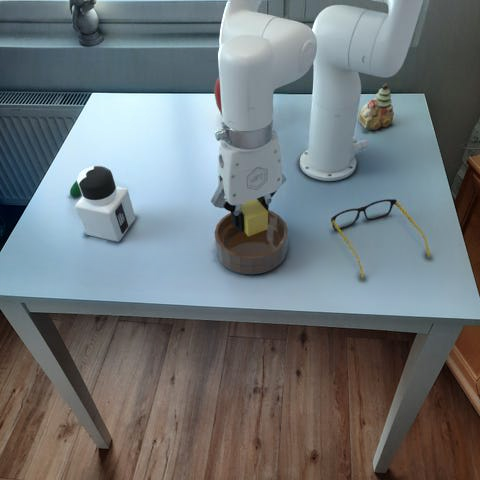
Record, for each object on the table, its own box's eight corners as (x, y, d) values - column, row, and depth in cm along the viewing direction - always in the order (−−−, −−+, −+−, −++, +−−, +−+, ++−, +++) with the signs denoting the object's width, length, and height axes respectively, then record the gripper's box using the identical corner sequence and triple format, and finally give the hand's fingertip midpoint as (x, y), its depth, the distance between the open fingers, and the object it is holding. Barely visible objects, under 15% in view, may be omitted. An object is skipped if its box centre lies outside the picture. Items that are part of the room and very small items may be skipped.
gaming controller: (112, 208, 104) (118, 181, 103) (102, 205, 100) (108, 177, 99) (78, 198, 106) (84, 171, 105) (67, 195, 103) (73, 167, 102)
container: (136, 218, 99) (121, 164, 88) (119, 243, 94) (101, 189, 84) (104, 211, 101) (85, 158, 90) (85, 235, 96) (64, 182, 86)
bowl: (265, 218, 97) (265, 199, 93) (300, 259, 90) (301, 240, 86) (205, 241, 94) (203, 222, 90) (236, 286, 86) (235, 267, 82)
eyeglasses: (389, 211, 97) (393, 195, 94) (429, 257, 88) (436, 242, 85) (326, 229, 94) (328, 214, 91) (362, 279, 86) (366, 264, 83)
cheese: (252, 210, 88) (251, 192, 85) (267, 229, 85) (268, 211, 81) (233, 217, 87) (232, 199, 84) (248, 236, 84) (247, 219, 80)
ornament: (368, 135, 113) (376, 94, 105) (353, 123, 117) (359, 82, 109) (394, 125, 115) (404, 84, 107) (379, 114, 119) (387, 73, 111)
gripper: (208, 158, 67) (217, 251, 82) (308, 125, 71) (300, 219, 86) (187, 133, 71) (200, 226, 86) (283, 103, 75) (279, 196, 90)
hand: (250, 221), depth 86 cm, fingers closed on cheese, 4 cm apart
